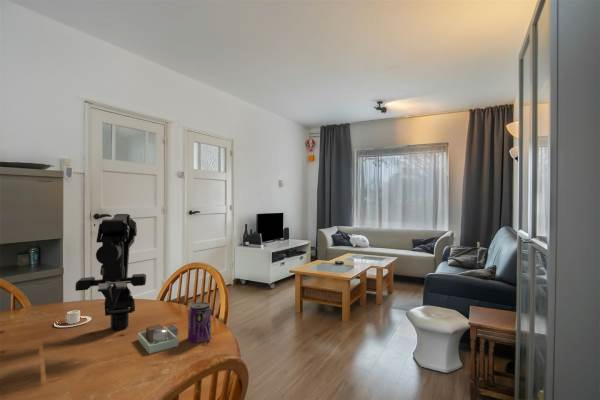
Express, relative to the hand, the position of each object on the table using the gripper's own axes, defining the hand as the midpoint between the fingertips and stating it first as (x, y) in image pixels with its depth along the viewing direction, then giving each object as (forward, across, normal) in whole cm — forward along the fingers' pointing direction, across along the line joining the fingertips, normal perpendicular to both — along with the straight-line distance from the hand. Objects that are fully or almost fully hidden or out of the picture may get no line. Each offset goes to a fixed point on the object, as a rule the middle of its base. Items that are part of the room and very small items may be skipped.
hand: (112, 309), depth 101 cm
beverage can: (+12, -26, +5) cm, 29 cm away
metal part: (+11, -14, +6) cm, 19 cm away
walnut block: (+11, -12, +1) cm, 16 cm away
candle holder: (+13, +18, -31) cm, 38 cm away
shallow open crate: (+12, -13, +4) cm, 18 cm away
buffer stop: (+12, -18, -3) cm, 22 cm away
